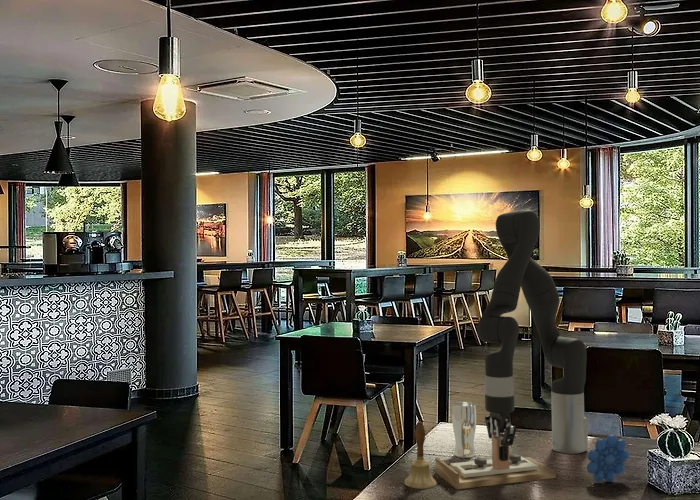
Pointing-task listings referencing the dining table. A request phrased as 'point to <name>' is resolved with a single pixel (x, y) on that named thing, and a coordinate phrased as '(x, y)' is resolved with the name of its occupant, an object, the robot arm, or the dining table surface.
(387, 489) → the dining table surface
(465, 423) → the beer glass
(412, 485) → the hand bell
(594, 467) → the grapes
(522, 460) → the panel
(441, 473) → the boss board
